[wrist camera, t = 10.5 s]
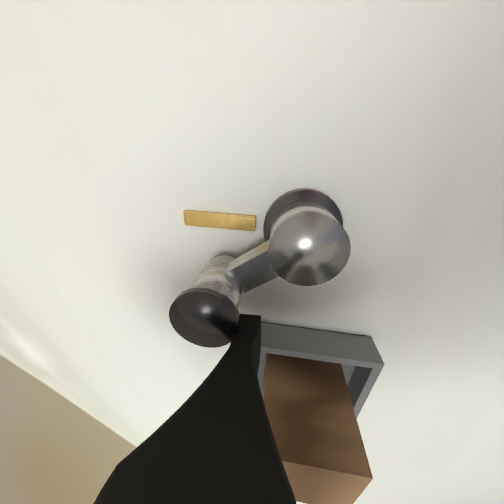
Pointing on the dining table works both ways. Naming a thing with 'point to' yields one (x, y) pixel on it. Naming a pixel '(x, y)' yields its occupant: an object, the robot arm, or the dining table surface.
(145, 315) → the dining table surface
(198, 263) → the dining table surface
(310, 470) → the block
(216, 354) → the dining table surface
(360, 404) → the tray
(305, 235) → the crank lever
